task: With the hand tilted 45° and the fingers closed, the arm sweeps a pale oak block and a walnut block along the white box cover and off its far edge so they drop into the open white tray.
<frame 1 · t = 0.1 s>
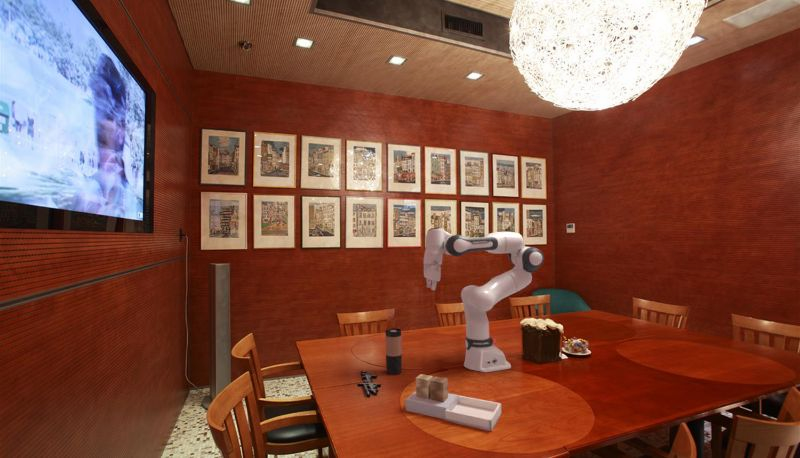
hand: (430, 288, 180), 39 cm above the table, fingers open, 8 cm apart
nameplate: (368, 385, 163), on the table
tray: (474, 417, 131), on the table
travel mug: (394, 372, 176), on the table
white box cover: (432, 408, 138), on the table
oak block: (424, 395, 140), point 4 cm above the table, touching white box cover
walnut block: (439, 398, 137), point 4 cm above the table, touching white box cover
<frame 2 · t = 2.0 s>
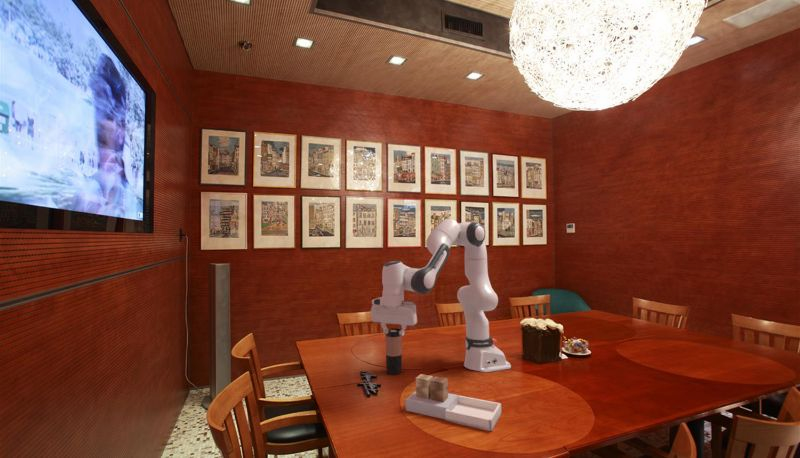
hand: (393, 334, 152), 24 cm above the table, fingers open, 6 cm apart
nothing on the table moved.
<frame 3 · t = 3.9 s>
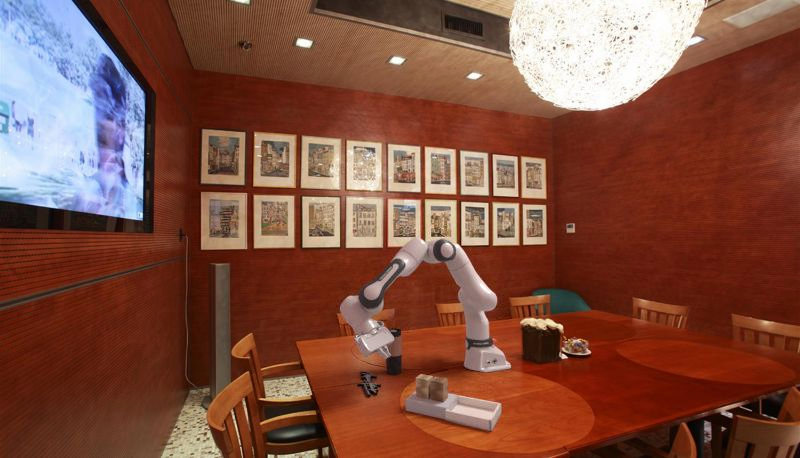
hand: (388, 357, 148), 16 cm above the table, fingers closed
nothing on the table moved.
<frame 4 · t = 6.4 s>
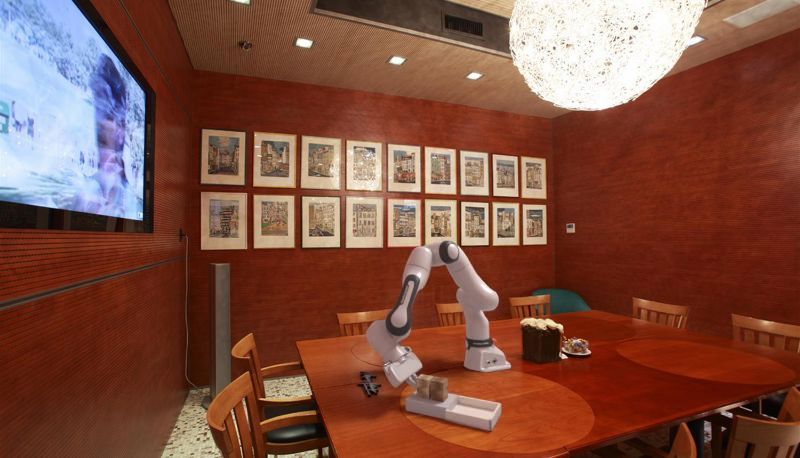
hand: (417, 386, 141), 7 cm above the table, fingers closed, pressing on oak block
oak block: (425, 395, 140), point 4 cm above the table, touching gripper
everything else where it was.
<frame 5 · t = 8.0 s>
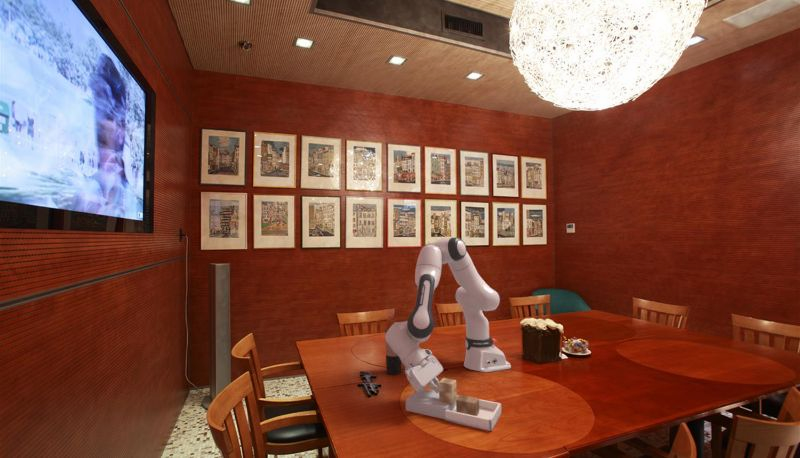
hand: (439, 391, 137), 7 cm above the table, fingers closed
oak block: (448, 400, 135), point 4 cm above the table, touching white box cover
walnut block: (458, 404, 133), point 3 cm above the table, tilted 90°, touching tray
everything else where it was.
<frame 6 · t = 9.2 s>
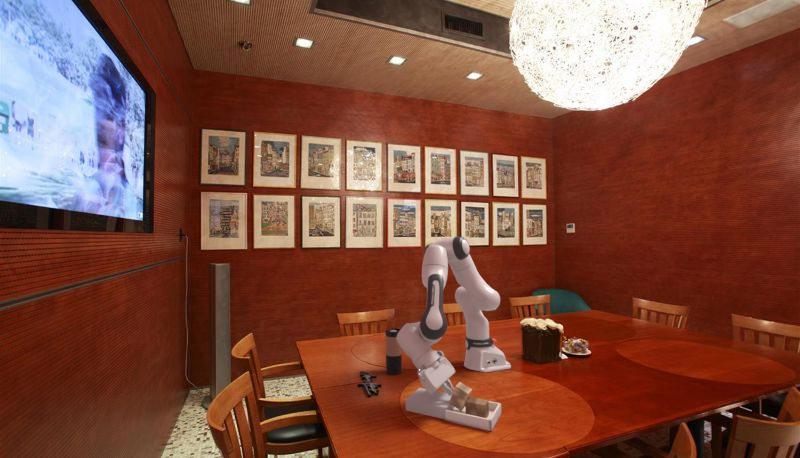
hand: (452, 393, 134), 7 cm above the table, fingers closed, pressing on oak block
oak block: (457, 404, 134), point 3 cm above the table, tilted 23°, touching gripper, walnut block
walnut block: (467, 406, 132), point 3 cm above the table, tilted 90°, touching oak block
everything else where it was.
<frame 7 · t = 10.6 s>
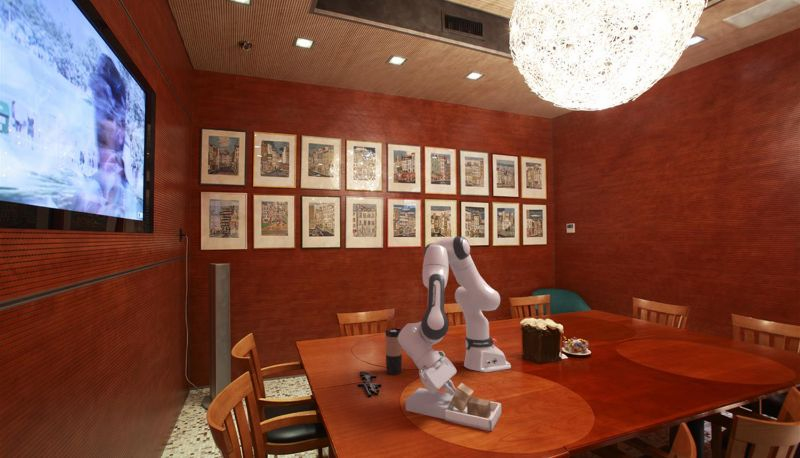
hand: (454, 393, 134), 7 cm above the table, fingers closed
oak block: (457, 405, 133), point 3 cm above the table, tilted 26°, touching white box cover, walnut block
walnut block: (469, 406, 132), point 3 cm above the table, tilted 90°, touching oak block, tray
everything else where it was.
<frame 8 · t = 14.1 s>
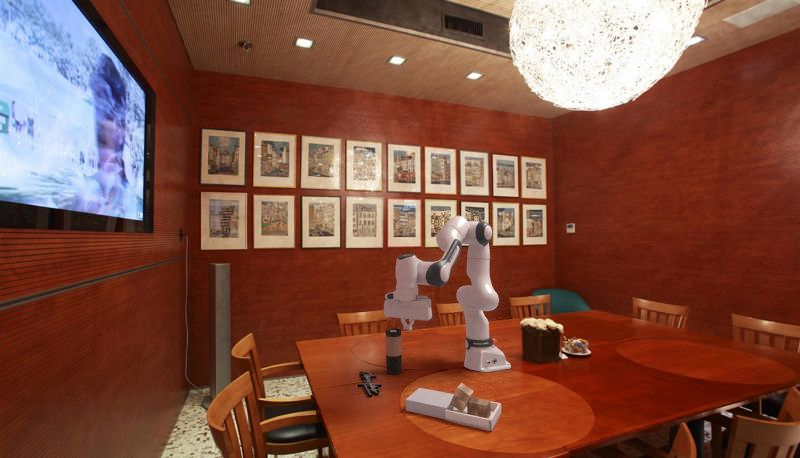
hand: (407, 329, 148), 27 cm above the table, fingers closed
nothing on the table moved.
at the end: oak block 5.8 cm from the tray (horizontally); walnut block 1.7 cm from the tray (horizontally); oak block point 3.0 cm above the table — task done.
